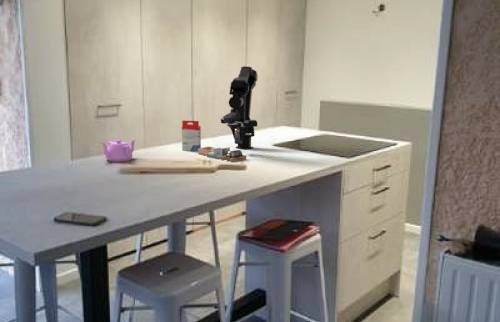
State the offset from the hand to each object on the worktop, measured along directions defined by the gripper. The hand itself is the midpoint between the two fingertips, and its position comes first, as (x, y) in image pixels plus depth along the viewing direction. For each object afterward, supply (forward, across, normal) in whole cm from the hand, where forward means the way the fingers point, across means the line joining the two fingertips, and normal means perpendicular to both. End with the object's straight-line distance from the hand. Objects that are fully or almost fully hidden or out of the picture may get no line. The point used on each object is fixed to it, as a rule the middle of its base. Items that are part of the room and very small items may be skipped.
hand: (238, 140), depth 250 cm
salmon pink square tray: (+7, -9, -11) cm, 15 cm away
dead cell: (+2, 0, 0) cm, 2 cm away
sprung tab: (+5, +2, -11) cm, 12 cm away
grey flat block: (+7, 0, -11) cm, 13 cm away
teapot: (+7, -25, -49) cm, 55 cm away
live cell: (+7, +8, -11) cm, 15 cm away
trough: (+7, +8, -11) cm, 15 cm away
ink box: (+7, -22, -10) cm, 25 cm away
